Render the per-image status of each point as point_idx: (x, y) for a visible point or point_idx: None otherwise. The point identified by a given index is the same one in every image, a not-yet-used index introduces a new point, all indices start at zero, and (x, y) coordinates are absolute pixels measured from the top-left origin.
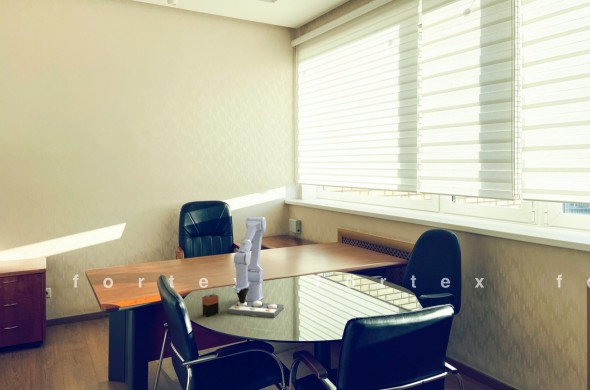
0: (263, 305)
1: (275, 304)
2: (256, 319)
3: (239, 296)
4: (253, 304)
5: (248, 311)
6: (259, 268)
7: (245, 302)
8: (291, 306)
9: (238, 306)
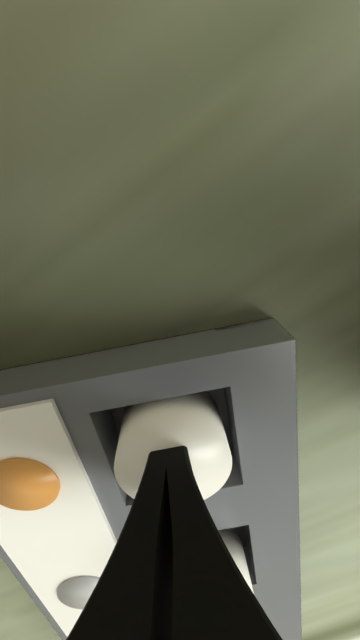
0: None
1: (291, 626)
2: (5, 605)
3: (132, 572)
4: None
5: (23, 581)
6: None
7: (209, 484)
8: (349, 618)
9: (66, 469)
